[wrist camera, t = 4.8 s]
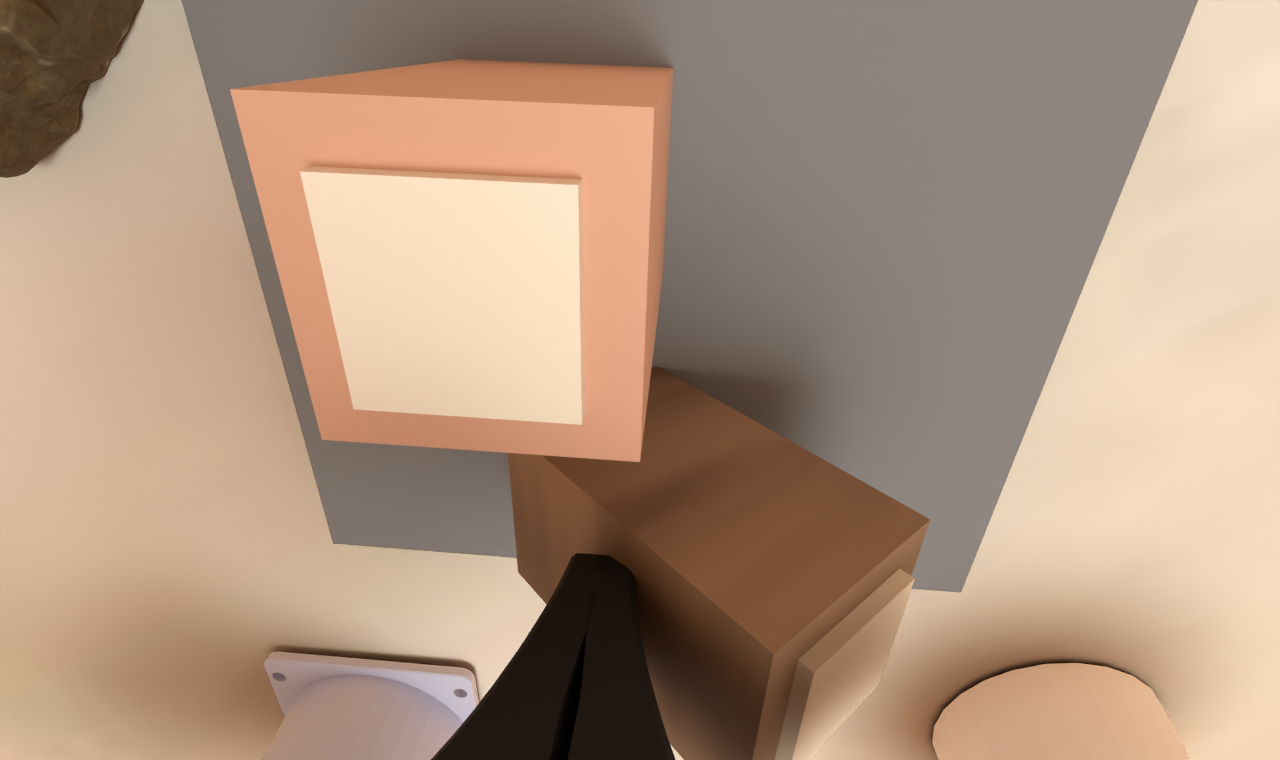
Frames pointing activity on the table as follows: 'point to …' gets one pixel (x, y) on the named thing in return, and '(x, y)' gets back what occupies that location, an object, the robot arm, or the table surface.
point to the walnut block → (731, 571)
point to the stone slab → (51, 70)
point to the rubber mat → (784, 221)
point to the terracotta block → (470, 249)
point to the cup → (1057, 718)
